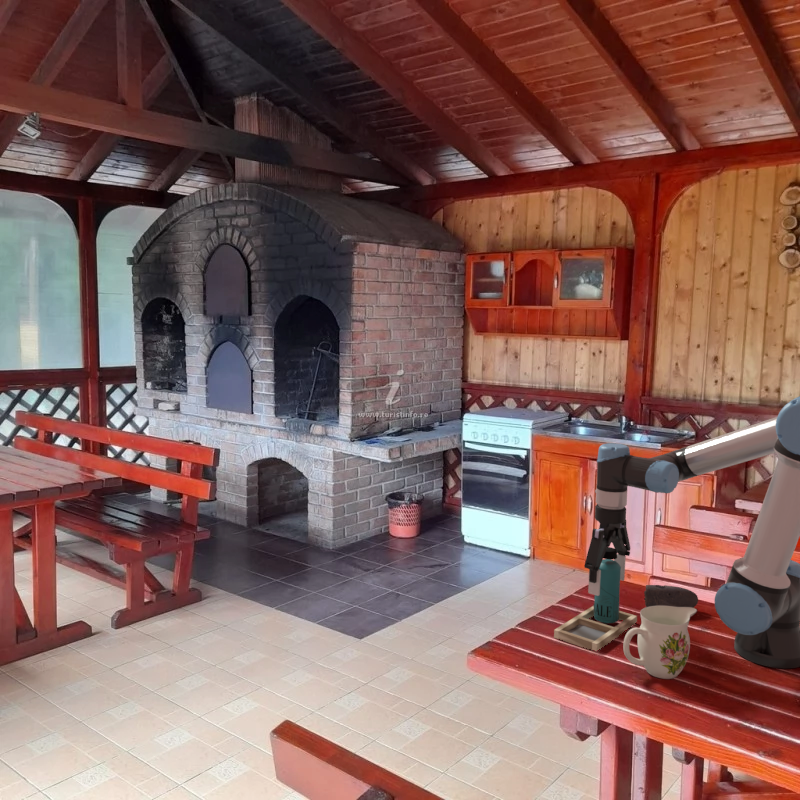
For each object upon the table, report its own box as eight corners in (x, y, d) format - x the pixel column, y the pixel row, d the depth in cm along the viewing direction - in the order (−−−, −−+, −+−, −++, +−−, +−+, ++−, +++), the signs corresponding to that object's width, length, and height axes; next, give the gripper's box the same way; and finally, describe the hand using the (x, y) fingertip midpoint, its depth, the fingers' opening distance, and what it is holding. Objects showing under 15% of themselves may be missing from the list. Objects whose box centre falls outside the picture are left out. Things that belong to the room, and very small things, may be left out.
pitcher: (608, 666, 169) (611, 608, 168) (676, 655, 174) (680, 599, 173) (637, 690, 159) (640, 628, 157) (708, 678, 164) (712, 618, 162)
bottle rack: (596, 611, 199) (596, 603, 199) (636, 623, 192) (637, 615, 192) (553, 637, 184) (554, 629, 183) (596, 652, 176) (596, 644, 176)
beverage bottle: (616, 619, 194) (619, 544, 192) (621, 630, 188) (624, 553, 185) (590, 618, 195) (593, 543, 192) (594, 629, 188) (597, 552, 186)
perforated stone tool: (694, 607, 203) (695, 582, 202) (701, 615, 197) (703, 589, 196) (638, 606, 203) (639, 582, 202) (644, 614, 198) (645, 589, 197)
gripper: (619, 493, 199) (615, 569, 202) (572, 512, 181) (568, 596, 184) (646, 498, 194) (642, 577, 197) (601, 518, 176) (596, 605, 179)
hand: (606, 586), depth 190 cm, fingers open, 13 cm apart
